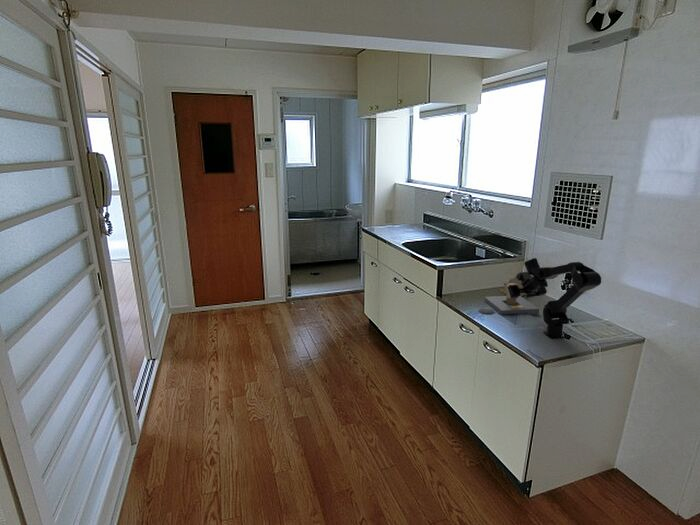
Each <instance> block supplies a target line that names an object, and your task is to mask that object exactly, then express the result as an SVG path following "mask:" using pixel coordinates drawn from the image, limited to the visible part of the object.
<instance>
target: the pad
mask: <svg viewBox="0 0 700 525" xmlns="http://www.w3.org/2000/svg"><path fill="white" fill-rule="evenodd" d="M478 312H479V313H480V314H482V315H490V316H492V315H495V313H496V312H495V311H494V310H493V309H490V308H479V309H478Z"/></svg>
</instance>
